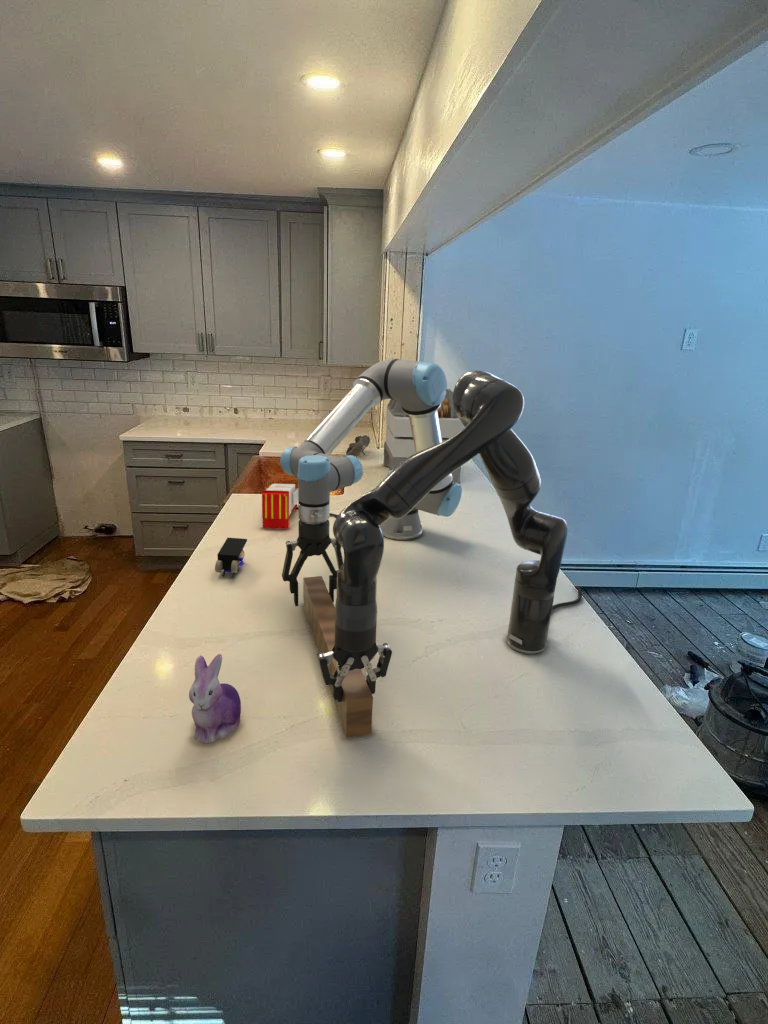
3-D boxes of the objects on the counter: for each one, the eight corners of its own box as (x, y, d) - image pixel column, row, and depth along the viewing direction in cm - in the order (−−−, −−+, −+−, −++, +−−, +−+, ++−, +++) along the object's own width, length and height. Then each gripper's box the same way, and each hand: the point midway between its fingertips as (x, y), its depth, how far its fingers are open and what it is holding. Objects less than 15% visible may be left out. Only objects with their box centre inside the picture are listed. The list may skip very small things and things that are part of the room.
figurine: (196, 753, 99) (190, 681, 94) (186, 717, 107) (180, 649, 102) (250, 737, 103) (246, 667, 98) (236, 703, 112) (232, 637, 107)
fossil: (346, 441, 313) (367, 426, 308) (356, 454, 316) (378, 440, 311) (339, 455, 293) (362, 439, 288) (351, 469, 296) (373, 453, 291)
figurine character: (238, 584, 162) (249, 557, 175) (236, 562, 158) (247, 536, 172) (215, 584, 161) (227, 556, 175) (212, 561, 158) (225, 535, 171)
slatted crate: (382, 463, 289) (386, 382, 275) (445, 464, 293) (451, 384, 279) (390, 482, 257) (394, 392, 243) (460, 483, 261) (468, 394, 247)
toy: (301, 479, 224) (291, 492, 194) (301, 512, 226) (291, 530, 197) (270, 478, 223) (256, 491, 194) (271, 511, 226) (256, 529, 197)
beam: (303, 606, 150) (303, 577, 147) (321, 604, 151) (321, 575, 148) (345, 738, 104) (346, 700, 102) (371, 734, 106) (373, 696, 103)
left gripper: (271, 527, 132) (273, 613, 139) (359, 522, 138) (357, 604, 145) (268, 516, 138) (270, 599, 146) (352, 511, 144) (350, 591, 152)
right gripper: (320, 635, 96) (320, 716, 102) (400, 624, 100) (396, 703, 106) (312, 612, 103) (312, 690, 109) (388, 604, 107) (384, 679, 113)
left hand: (313, 601), depth 146 cm, fingers open, 8 cm apart
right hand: (354, 696), depth 107 cm, fingers open, 5 cm apart
